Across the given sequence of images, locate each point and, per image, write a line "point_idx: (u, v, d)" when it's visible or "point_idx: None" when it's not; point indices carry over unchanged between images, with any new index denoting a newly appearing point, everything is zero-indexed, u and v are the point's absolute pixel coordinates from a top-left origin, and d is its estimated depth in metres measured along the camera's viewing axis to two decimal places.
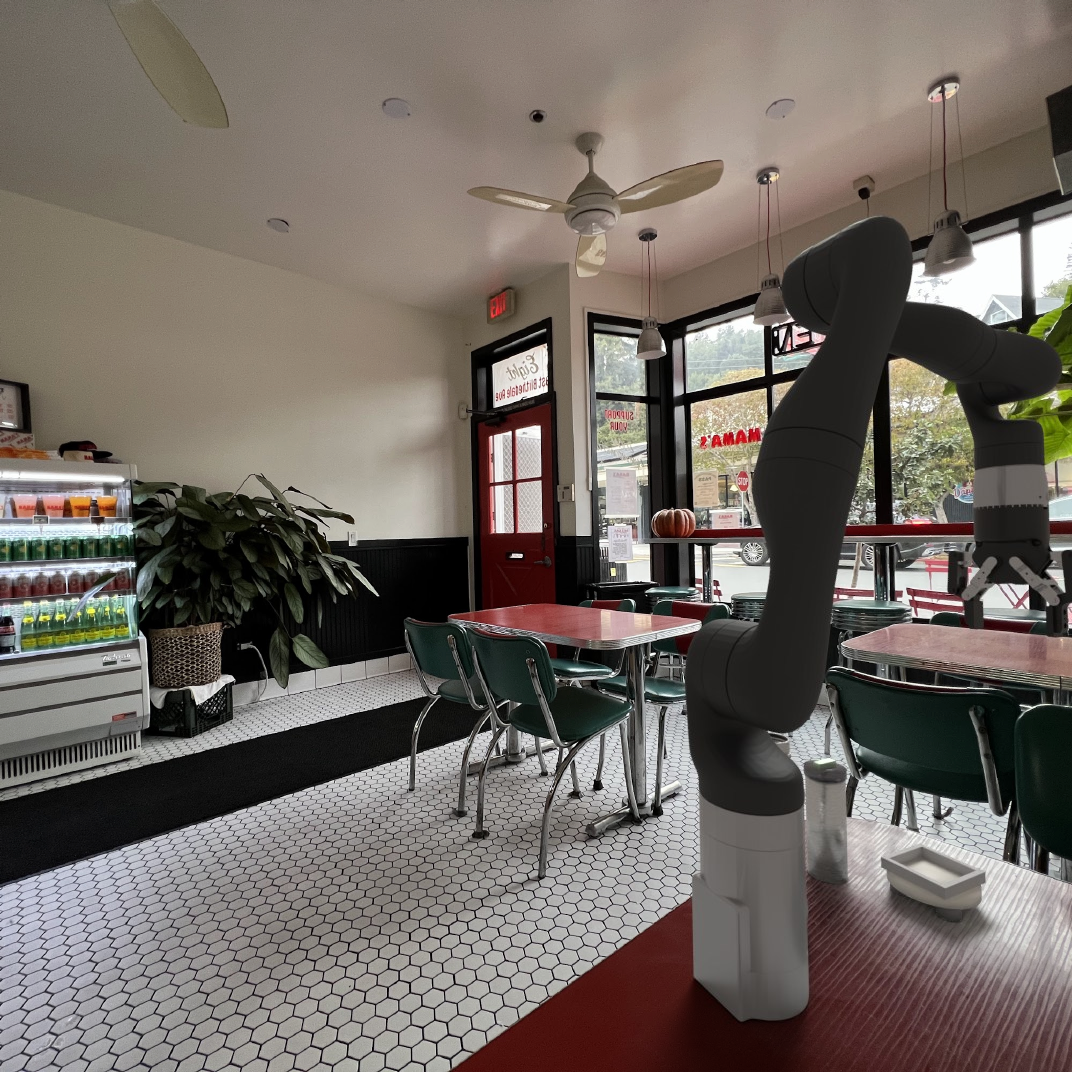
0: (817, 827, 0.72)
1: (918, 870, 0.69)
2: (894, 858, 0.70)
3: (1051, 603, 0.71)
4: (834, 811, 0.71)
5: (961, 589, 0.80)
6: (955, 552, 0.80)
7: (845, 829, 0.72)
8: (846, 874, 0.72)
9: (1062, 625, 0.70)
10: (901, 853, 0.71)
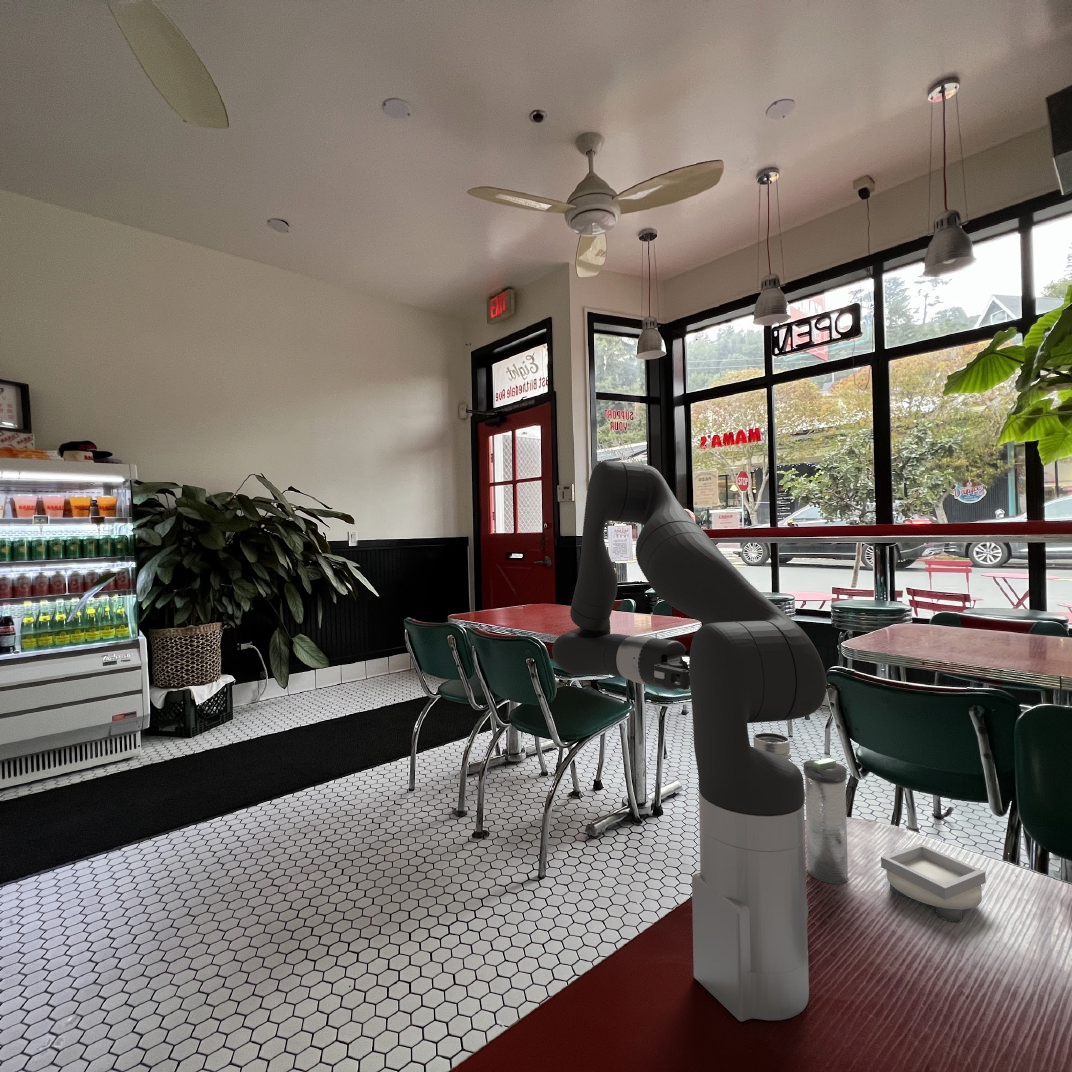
0: (817, 827, 0.72)
1: (918, 870, 0.69)
2: (894, 858, 0.70)
3: None
4: (834, 810, 0.71)
5: None
6: None
7: (845, 829, 0.72)
8: (846, 874, 0.72)
9: None
10: (901, 853, 0.71)
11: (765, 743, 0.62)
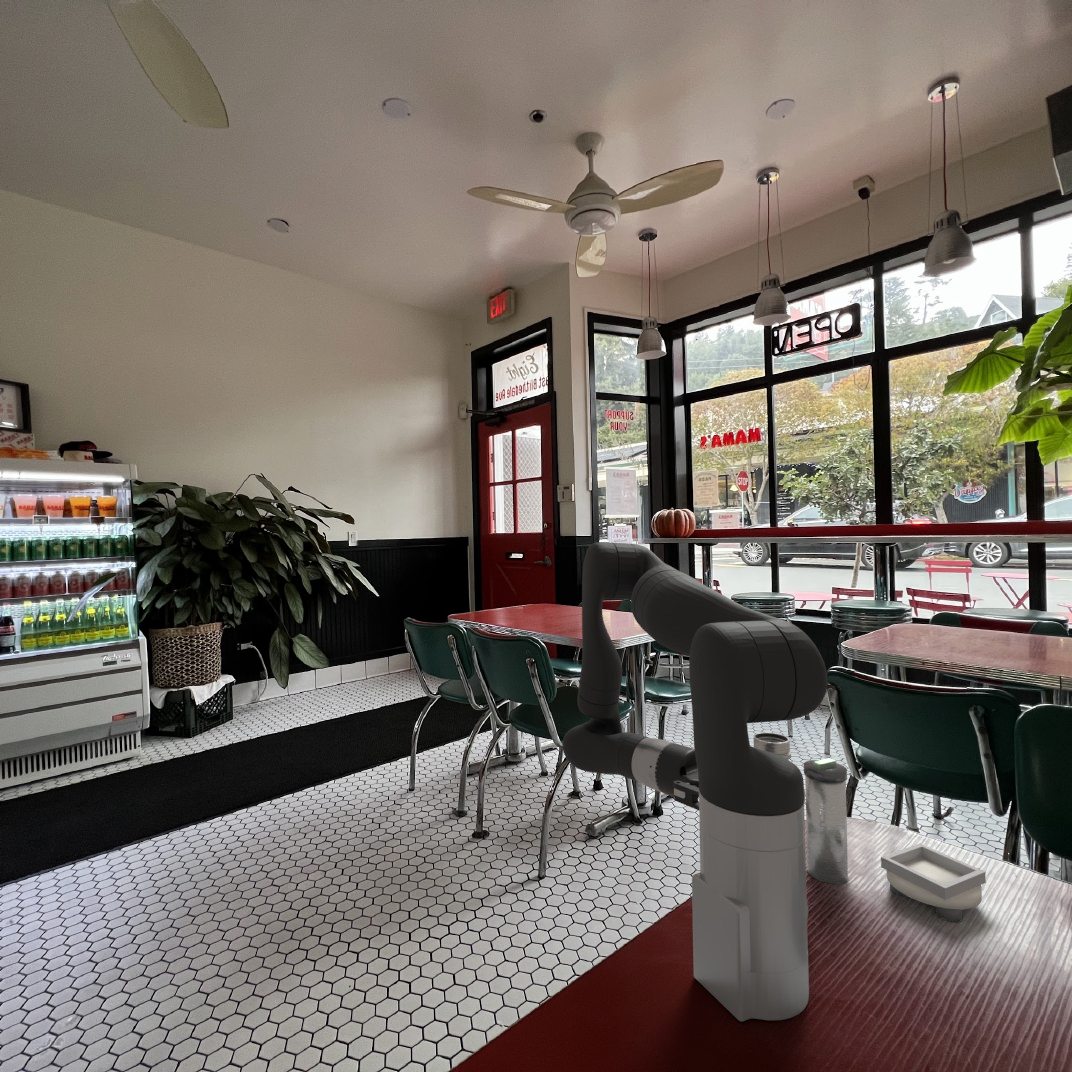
0: (817, 827, 0.72)
1: (918, 870, 0.69)
2: (894, 858, 0.70)
3: None
4: (834, 811, 0.71)
5: None
6: (677, 781, 0.83)
7: (845, 829, 0.72)
8: (846, 874, 0.72)
9: None
10: (901, 853, 0.71)
11: (765, 743, 0.62)
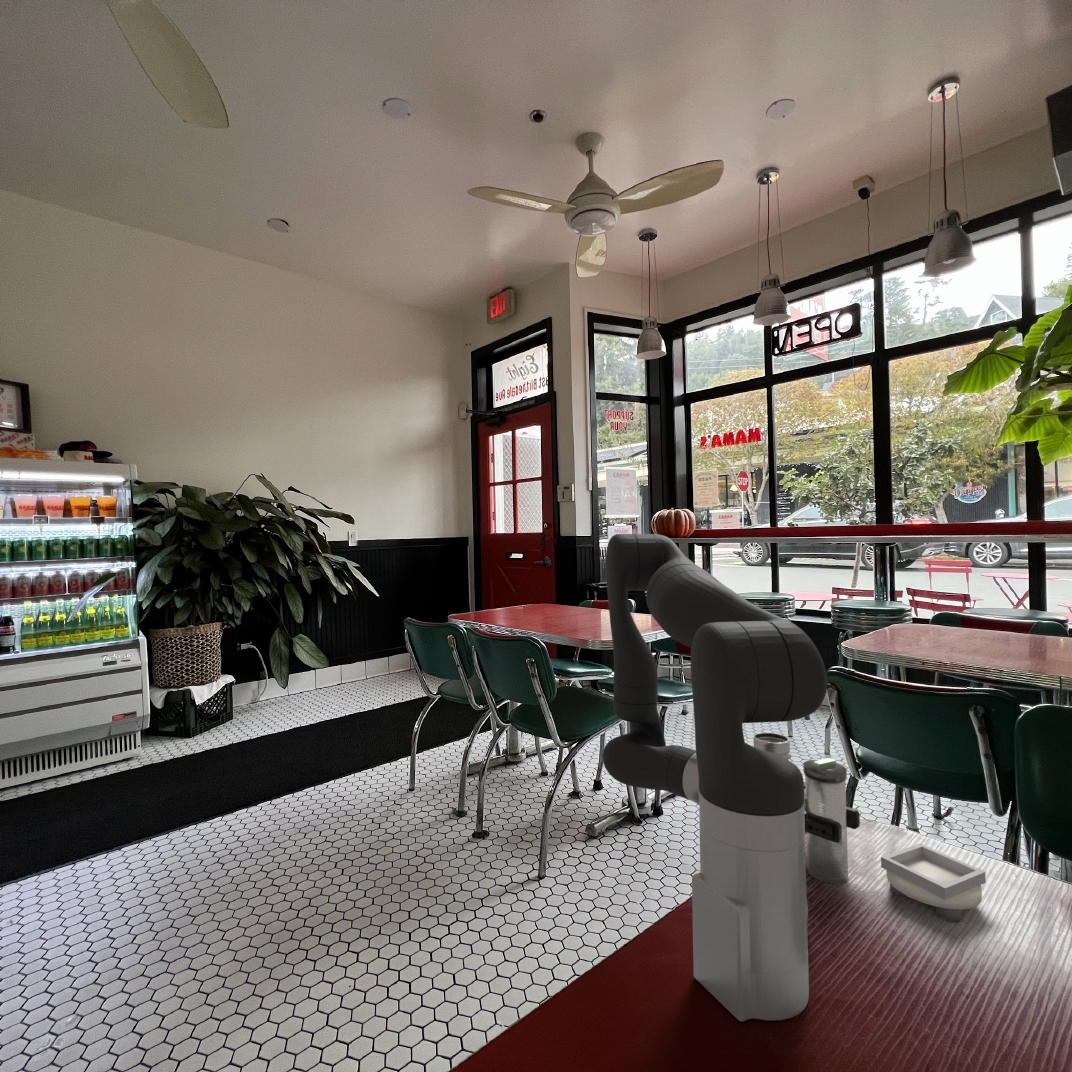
0: None
1: (918, 870, 0.69)
2: (894, 858, 0.70)
3: None
4: (834, 810, 0.71)
5: None
6: None
7: (845, 829, 0.72)
8: (846, 874, 0.72)
9: None
10: (901, 853, 0.71)
11: (765, 743, 0.62)
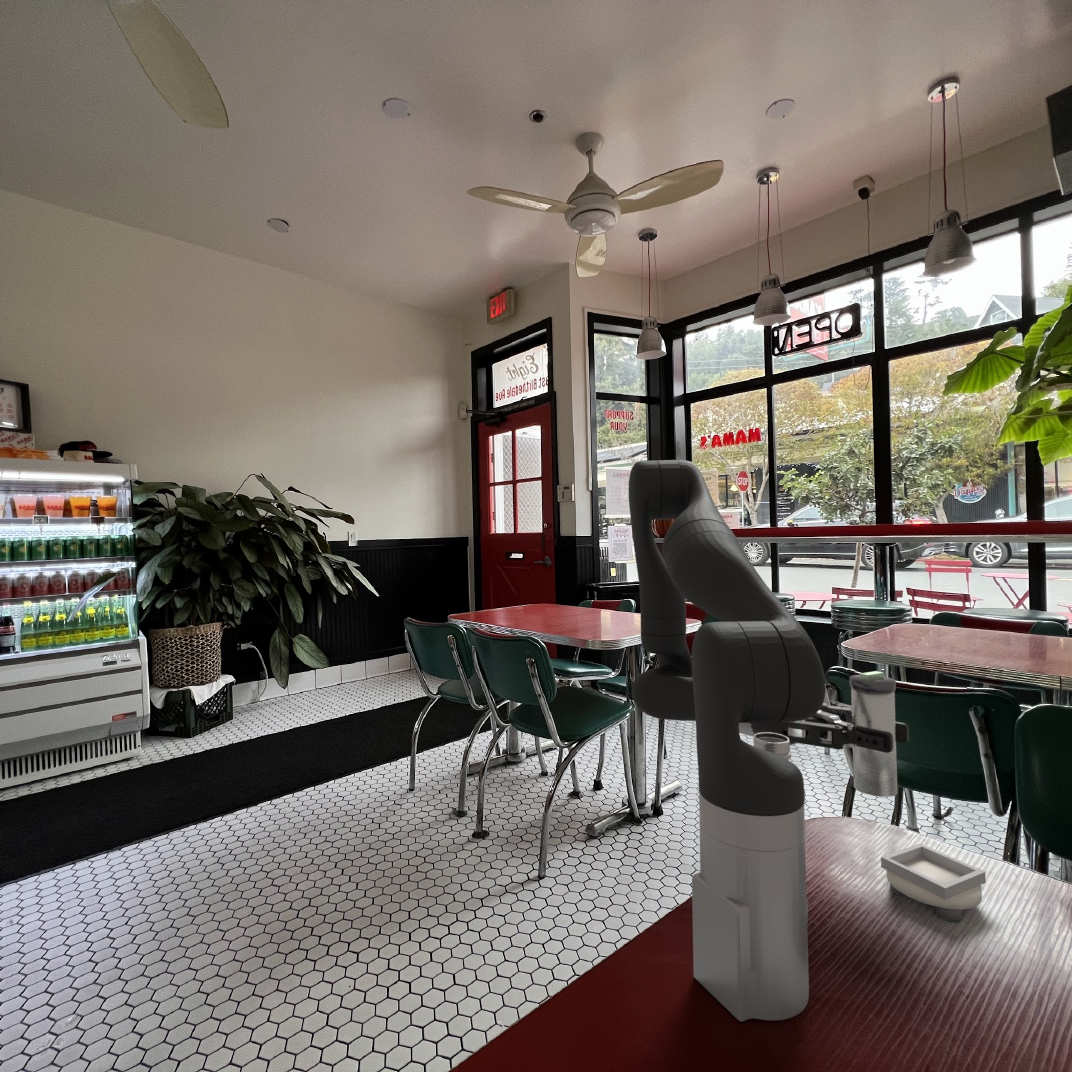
0: None
1: (918, 870, 0.69)
2: (894, 858, 0.70)
3: None
4: (884, 721, 0.69)
5: None
6: None
7: (895, 741, 0.70)
8: (896, 788, 0.69)
9: None
10: (901, 853, 0.71)
11: (765, 743, 0.62)
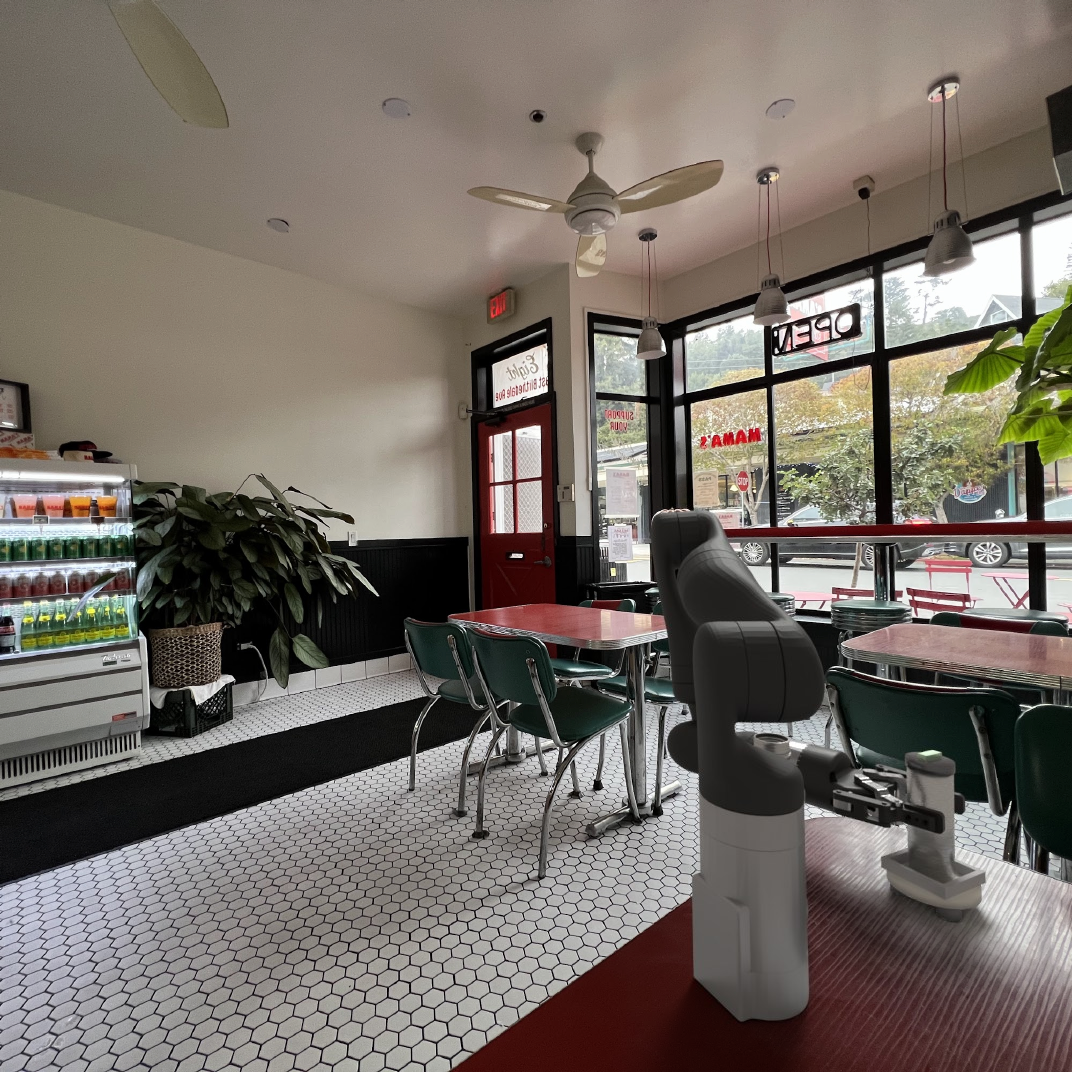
0: None
1: None
2: (894, 858, 0.70)
3: None
4: (943, 806, 0.66)
5: None
6: (836, 790, 0.70)
7: (953, 826, 0.67)
8: (954, 876, 0.66)
9: None
10: (901, 853, 0.71)
11: (765, 743, 0.62)
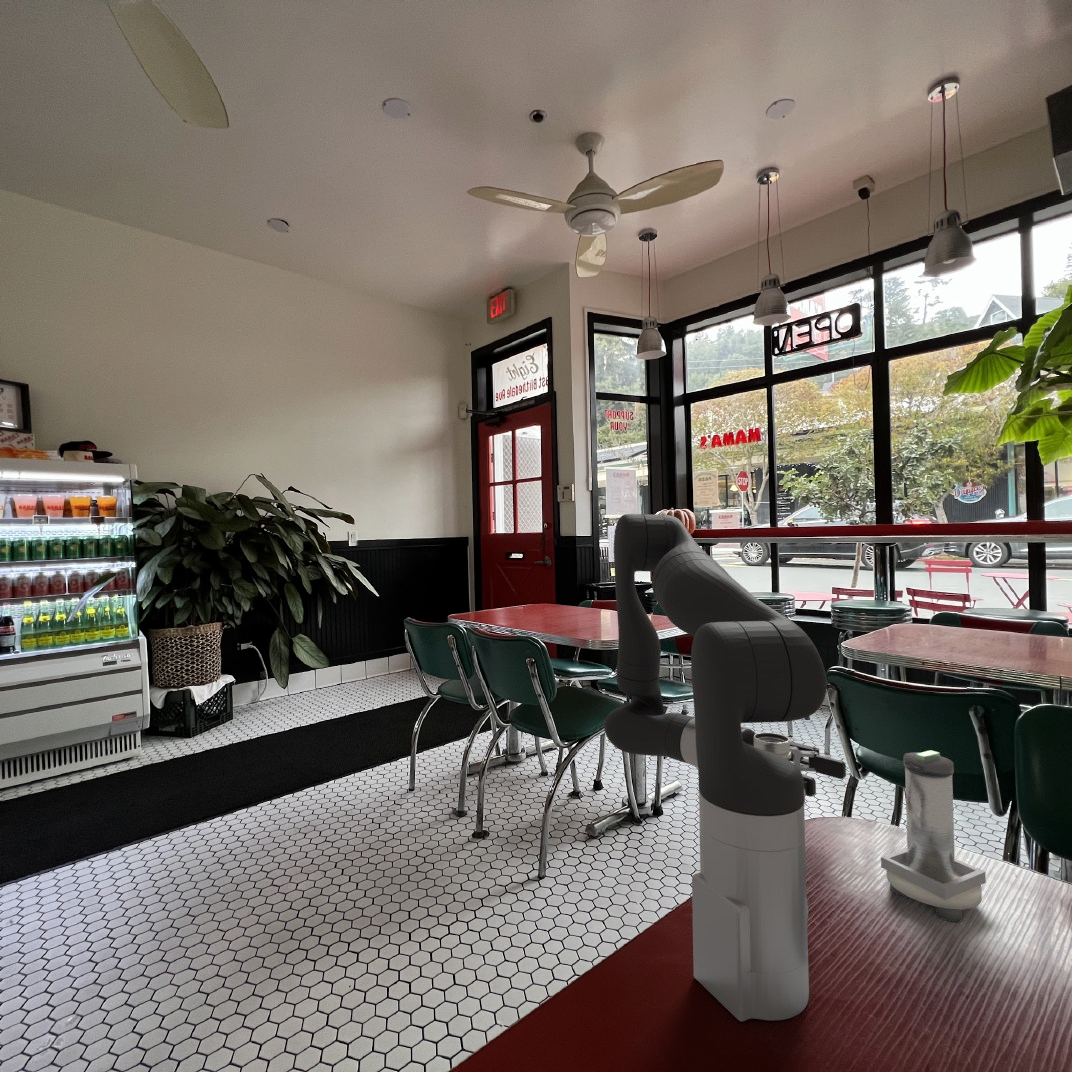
0: (922, 825, 0.67)
1: None
2: (894, 858, 0.70)
3: (815, 753, 0.83)
4: (942, 807, 0.66)
5: None
6: None
7: (953, 827, 0.67)
8: (954, 876, 0.66)
9: None
10: (901, 853, 0.71)
11: (765, 743, 0.62)
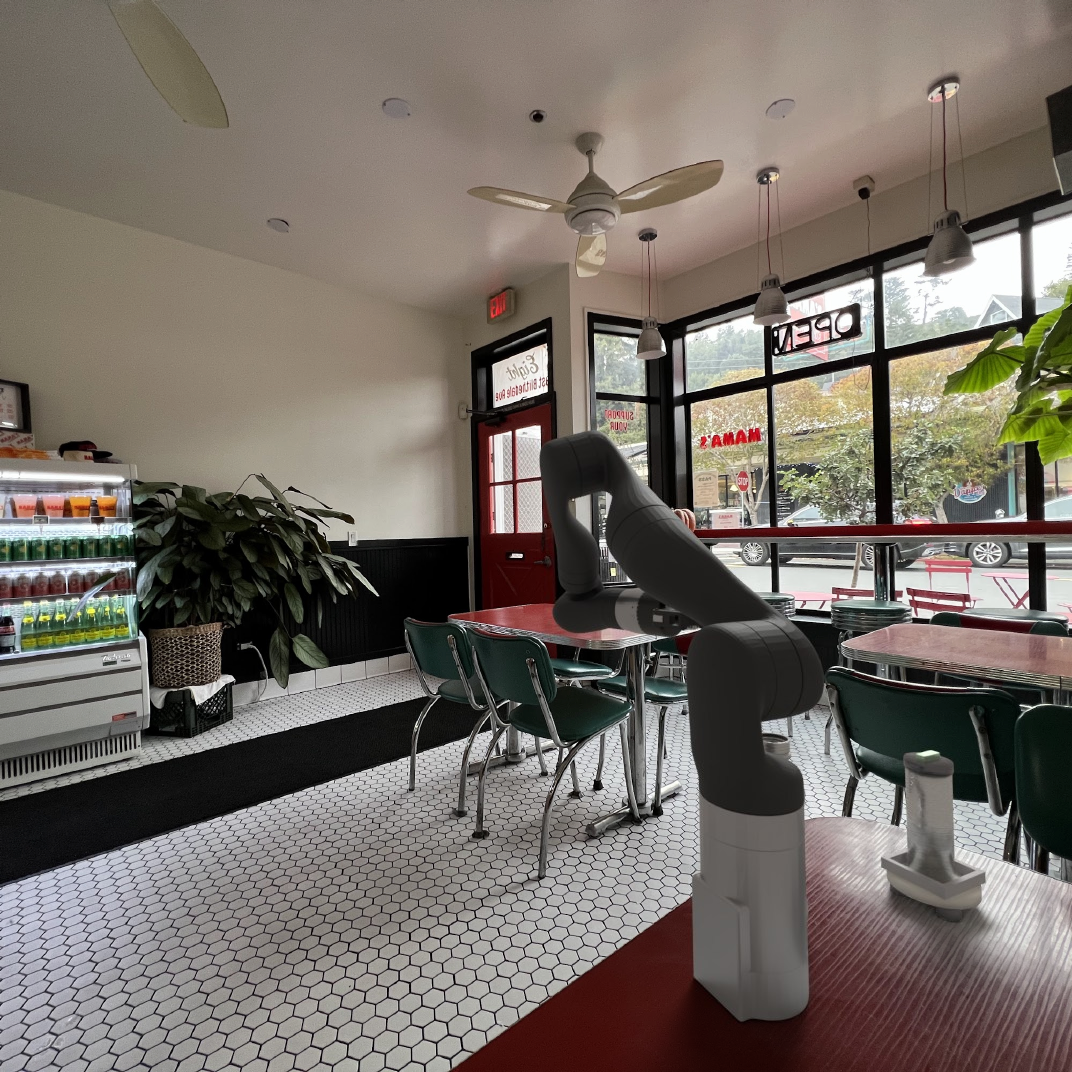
0: (922, 824, 0.67)
1: None
2: (894, 858, 0.70)
3: None
4: (942, 807, 0.66)
5: None
6: None
7: (953, 827, 0.67)
8: (954, 876, 0.66)
9: None
10: (901, 853, 0.71)
11: (765, 743, 0.62)
